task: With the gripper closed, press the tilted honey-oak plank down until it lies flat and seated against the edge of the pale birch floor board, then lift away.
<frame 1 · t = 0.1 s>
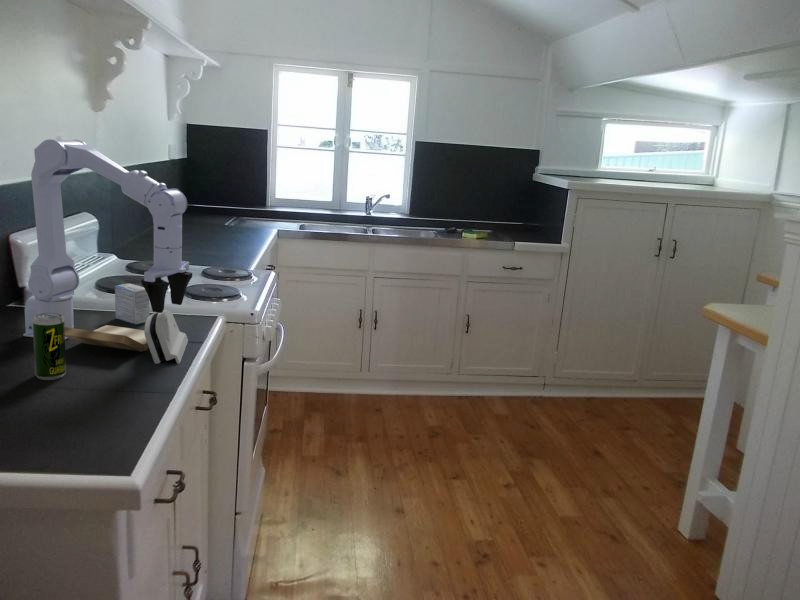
hand: (167, 308, 148), 10 cm above the counter, fingers open, 7 cm apart
plank: (101, 339, 146), point 3 cm above the counter, hinge at 30.0°
floor board: (124, 341, 155), on the counter
grey wood grain block: (132, 321, 171), on the counter
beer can: (50, 376, 131), on the counter
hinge: (166, 352, 151), on the counter
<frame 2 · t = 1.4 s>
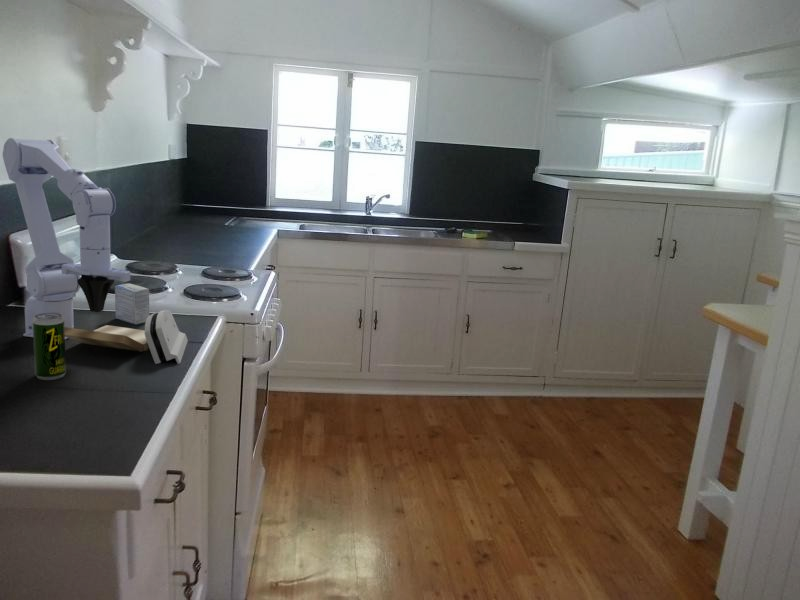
hand: (96, 310, 143), 9 cm above the counter, fingers closed
nothing on the counter moved.
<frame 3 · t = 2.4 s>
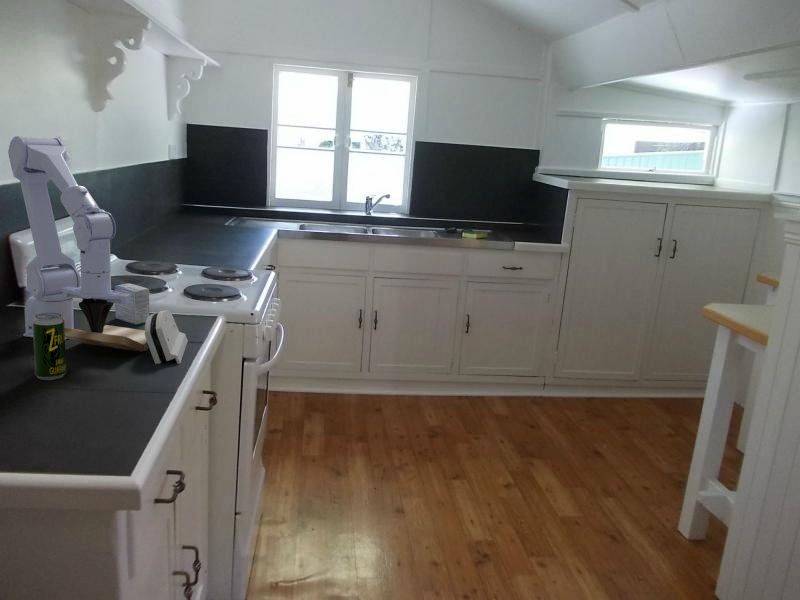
hand: (97, 333, 144), 4 cm above the counter, fingers closed, pressing on plank
plank: (101, 339, 146), point 3 cm above the counter, hinge at 28.4°, touching gripper
everything else where it was.
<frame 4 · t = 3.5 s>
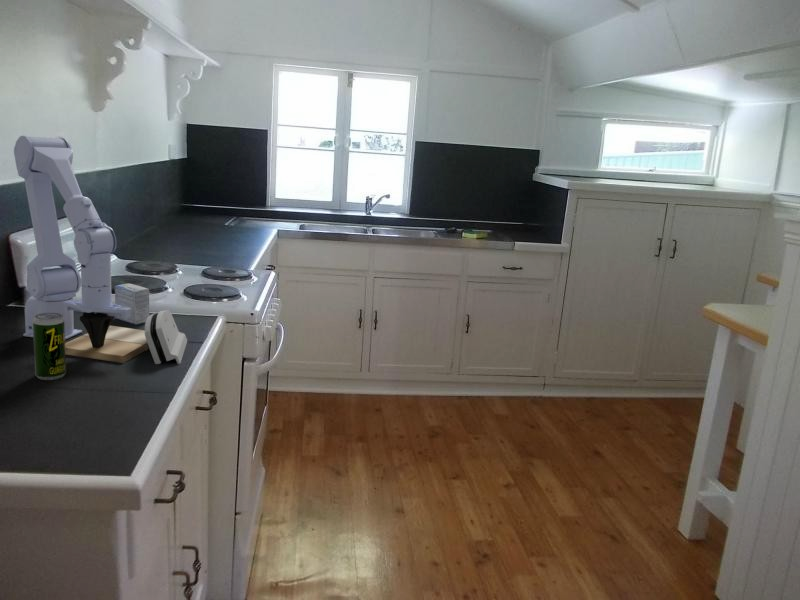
hand: (98, 346, 145), 2 cm above the counter, fingers closed, pressing on plank
plank: (101, 349, 146), point 1 cm above the counter, hinge at -1.1°, touching gripper
everything else where it was.
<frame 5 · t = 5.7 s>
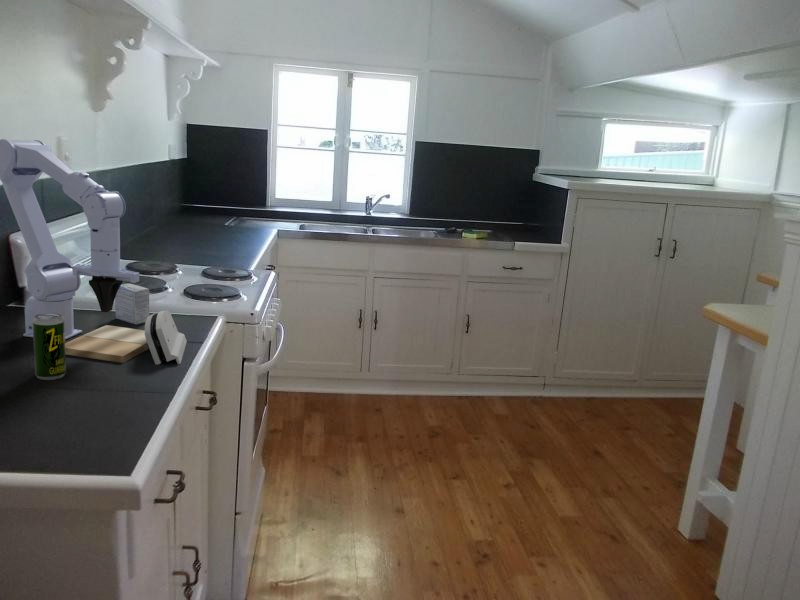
hand: (106, 310, 147), 8 cm above the counter, fingers closed
plank: (101, 349, 146), point 1 cm above the counter, hinge at -1.3°
everything else where it was.
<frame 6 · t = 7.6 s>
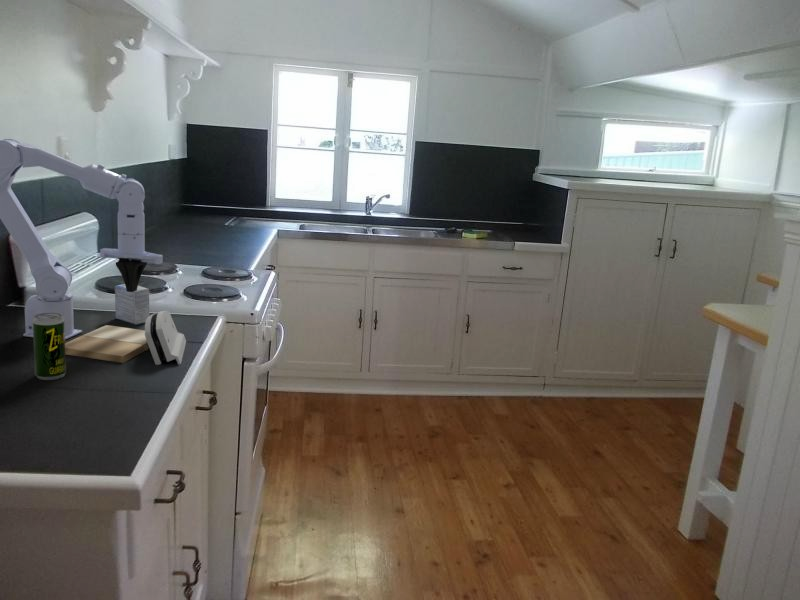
hand: (131, 291, 158), 10 cm above the counter, fingers closed
nothing on the counter moved.
at the end: plank at -1° (first picture: +30°); the gripper is holding nothing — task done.
